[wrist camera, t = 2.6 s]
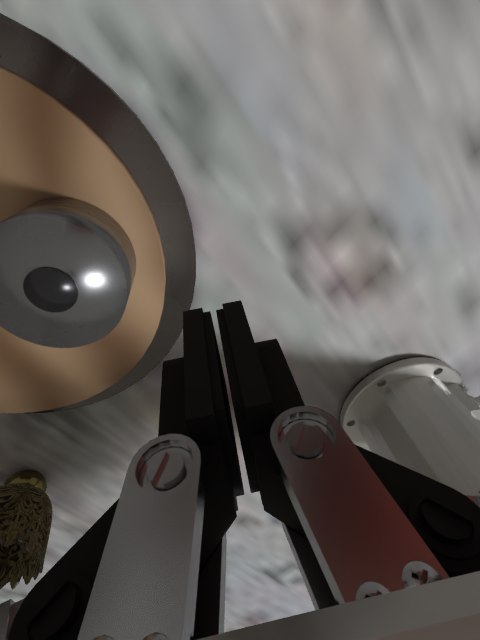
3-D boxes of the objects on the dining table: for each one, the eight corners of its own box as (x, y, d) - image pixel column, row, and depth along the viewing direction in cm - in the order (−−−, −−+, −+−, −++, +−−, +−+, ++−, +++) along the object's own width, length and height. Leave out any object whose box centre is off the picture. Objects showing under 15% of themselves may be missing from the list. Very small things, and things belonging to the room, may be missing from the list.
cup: (-32, 481, 33) (-87, 577, 26) (17, 443, 31) (-30, 535, 24) (38, 509, 36) (5, 600, 30) (85, 476, 35) (61, 565, 28)
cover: (114, 187, 18) (97, 205, 15) (150, 300, 22) (143, 336, 18) (-19, 209, 18) (-68, 233, 14) (40, 320, 22) (12, 360, 18)
